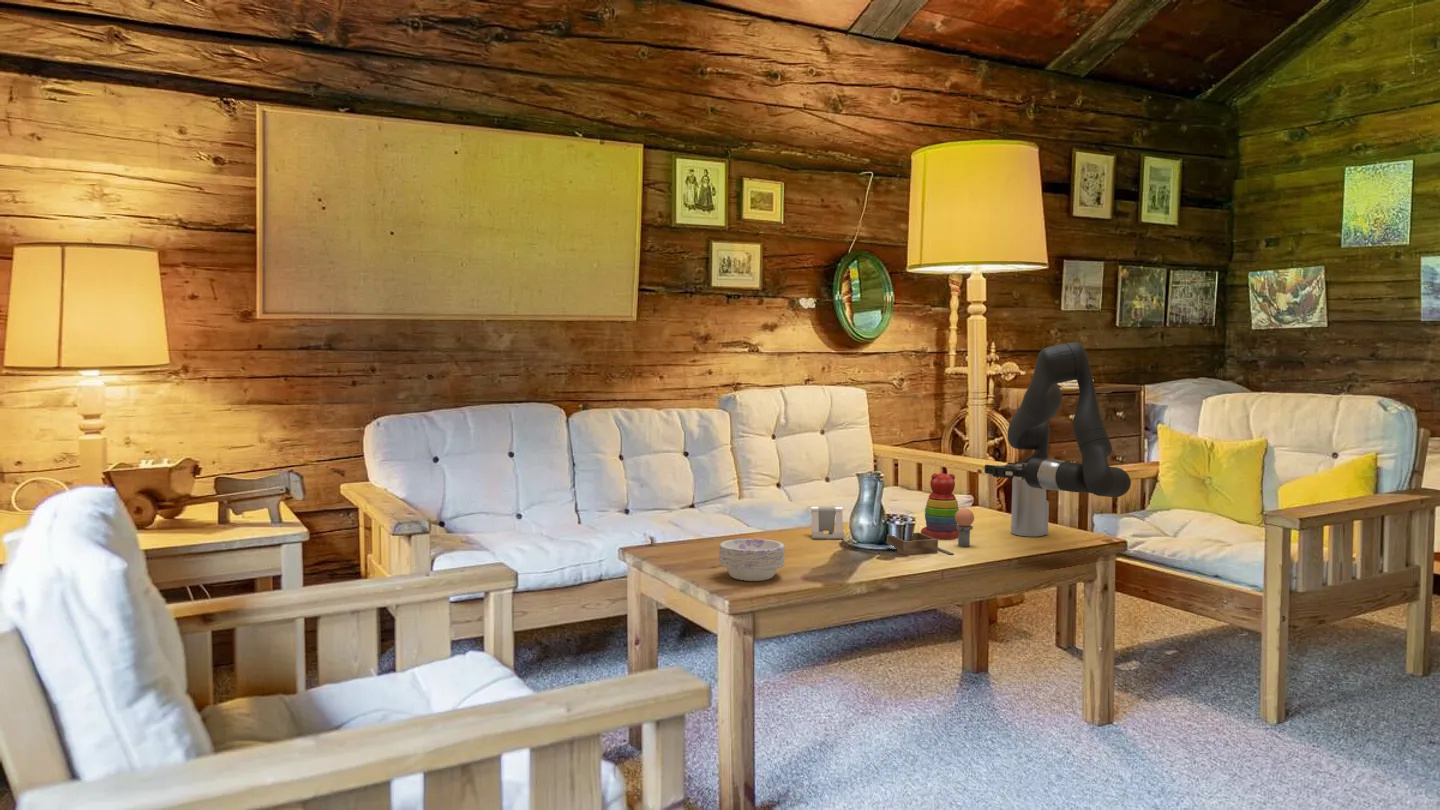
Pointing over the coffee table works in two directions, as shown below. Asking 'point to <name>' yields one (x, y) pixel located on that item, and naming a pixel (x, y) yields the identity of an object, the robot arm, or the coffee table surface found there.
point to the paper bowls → (751, 558)
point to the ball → (964, 517)
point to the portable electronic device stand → (827, 522)
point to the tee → (964, 535)
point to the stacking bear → (941, 508)
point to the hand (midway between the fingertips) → (996, 467)
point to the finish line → (945, 551)
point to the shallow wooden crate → (914, 544)
